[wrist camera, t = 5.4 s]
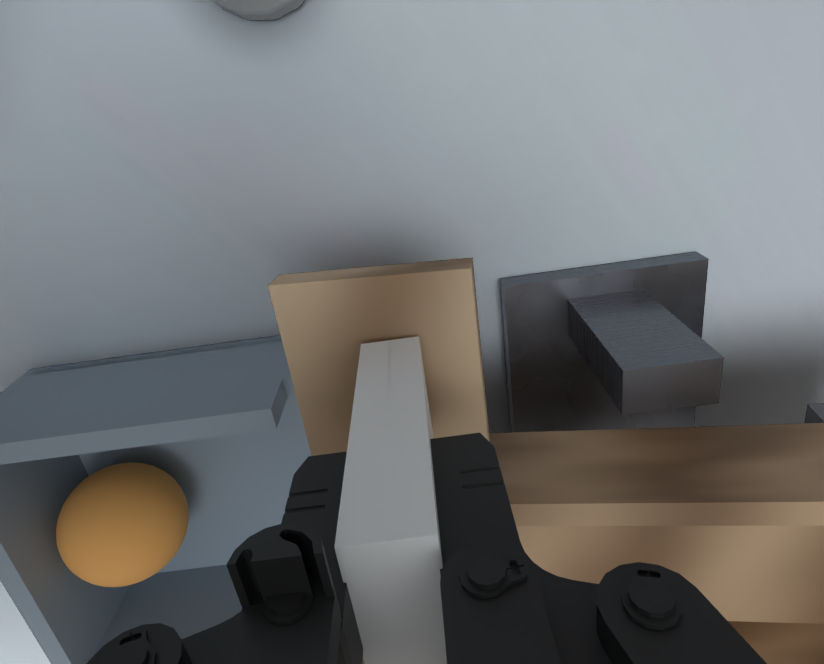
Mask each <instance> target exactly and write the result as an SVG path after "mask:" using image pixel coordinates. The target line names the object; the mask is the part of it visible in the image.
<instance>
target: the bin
mask: <svg viewBox="0 0 824 664" xmlns="http://www.w3.org/2000/svg"><path fill="white" fill-rule="evenodd" d="M308 456H311V452H310V448H309V444H308V440H307V436H306V432H305V428H304V424H303V421H302V417H301V413H300V409H299V405H298V401H297V397H296V393H295V390H294V386H293V382H292V378H291V374H290V370H289V366H288V362H287V358H286V355H285V351H284V347H283V343H282V339H281V335H279V336H272V337H265V338H257V339H250V340H242V341H235V342H228V343H220V344H213V345H205V346H198V347H191V348H183V349H176V350H168V351H161V352H154V353H146V354H139V355H131V356H124V357H117V358H109V359H102V360H94V361H87V362H80V363H72V364H65V365H57V366H50V367H43V368H35V369H30V370H29V371H28V372H26V373H25V374H24V375H23V376H21V377H20V378H19V379H18V380H16V381H15V382H14V383H13V384H11V385H10V386H9V387H8V388H6V389H5V390H4V391H3V392H1V393H0V580H1V582H2V584H3V585H4V587H5V589H6V590H7V592H8V593H9V595H10V597H11V598H12V600H13V602H14V603H15V605H16V607H17V608H18V610H19V612H20V613H21V615H22V616H23V618H24V620H25V621H26V623H27V625H28V626H29V628H30V630H31V631H32V633H33V635H34V636H35V638H36V639H37V641H38V643H39V644H40V646H41V648H42V649H43V651H44V653H45V654H46V656H47V658H48V659H49V661H50V662H51V664H87V662H88V661H89V660H90V659H91V658H92V657H93V656H94V655H95V654H96V653H97V652H98V651H99V650H100V649H101V648H102V647H103V646H104V645H105V644H107V643H108V642H109V641H111V640H112V639H114V638H115V637H117V636H118V635H120V634H121V633H123V632H125V631H127V630H130V629H133V628H135V627H138V626H140V625H143V624H155V623H161V624H164V625H167V626H170V627H172V628H174V629H175V631H176V632H177V634H178V635H179V636H180V638H181V639H184V638H186V637H189V636H191V635H194V634H196V633H199V632H201V631H203V630H206V629H208V628H211V627H213V626H216V625H218V624H220V623H222V622H224V621H226V620H228V619H230V618H232V617H234V616H235V615H236V614H238V613H239V612H240V611H241V610H242V606H241V604H240V601H239V598H238V596H237V593H236V590H235V587H234V585H233V582H232V579H231V577H230V574H229V571H228V569H227V566H226V564H227V562H228V561H229V559H230V557H231V556H232V554H233V552H234V550H235V549H236V548H237V547H238V546H240V545H241V544H242V543H243V542H244V541H245V540H246V539H247V538H248V537H250V536H252V535H254V534H255V533H257V532H259V531H261V530H263V529H265V528H267V527H271V526H275V525H279V524H281V522H282V518H283V514H285V506H286V503H287V499H288V497H289V491H290V487H291V483H292V479H293V476H294V473H295V472H296V471H297V470H298V469H299V467H300V466H301V465H302V464H303V462H304V461H305V460H306V459H307V457H308ZM129 462H136V463H144V464H148V465H152V466H155V467H157V468H159V469H161V470H163V471H165V472H166V473H168V474H169V475H170V476H172V477H173V478H174V479H175V480H176V482H177V483H178V484H179V486H180V487H181V488H182V491H183V493H184V495H185V497H186V500H187V504H188V511H189V520H188V527H187V532H186V535H185V538H184V540H183V542H182V544H181V546H180V548H179V550H178V551H177V553H176V554H175V556H174V557H173V558H172V559H171V560H170V562H169V563H168V564H167V565H166V566H164V567H163V568H162V569H161V570H160V571H158V572H157V573H156V574H154V575H153V576H151V577H149V578H147V579H145V580H143V581H141V582H138V583H135V584H131V585H127V586H122V587H104V586H98V585H94V584H91V583H89V582H86V581H84V580H82V579H81V578H79V577H78V576H76V575H75V574H73V573H72V572H71V571H70V570H69V568H68V567H67V566H66V565H65V563H64V562H63V560H62V558H61V556H60V553H59V551H58V547H57V542H56V525H57V520H58V517H59V514H60V511H61V509H62V507H63V504H64V503H65V501H66V499H67V498H68V496H69V495H70V494H71V492H72V491H73V490H74V489H75V488H76V487H77V486H78V485H79V484H80V483H81V482H82V481H83V480H84V479H86V478H87V477H88V476H90V475H91V474H93V473H95V472H97V471H99V470H101V469H103V468H105V467H108V466H111V465H115V464H120V463H129Z"/></svg>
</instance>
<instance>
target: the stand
mask: <svg viewBox="0 0 824 664" xmlns="http://www.w3.org/2000/svg"><path fill="white" fill-rule="evenodd" d="M707 269H708V258H706V257H704V256H703V255H701V254H699V253H697V252H690V253H682V254H675V255H668V256H661V257H653V258H646V259H639V260H631V261H624V262H617V263H609V264H602V265H595V266H587V267H580V268H573V269H566V270H558V271H551V272H544V273H536V274H529V275H522V276H514V277H507V278H500V290H501V304H502V317H503V331H504V344H505V357H506V371H507V384H508V397H509V411H510V424H511V433H513V432H546V431H578V430H610V429H642V428H675V427H694V418H695V407H696V406H698V405H706V404H714V403H719V395H720V385H721V376H722V367H723V357H722V356H721V355H720V354H719V353H718V352H716V351H715V350H714V349H713V348H712V347H710V346H709V345H708V344H707V343H706V342H705V341H703V340H702V339H701V338H702V326H703V315H704V304H705V292H706V281H707Z"/></svg>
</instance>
